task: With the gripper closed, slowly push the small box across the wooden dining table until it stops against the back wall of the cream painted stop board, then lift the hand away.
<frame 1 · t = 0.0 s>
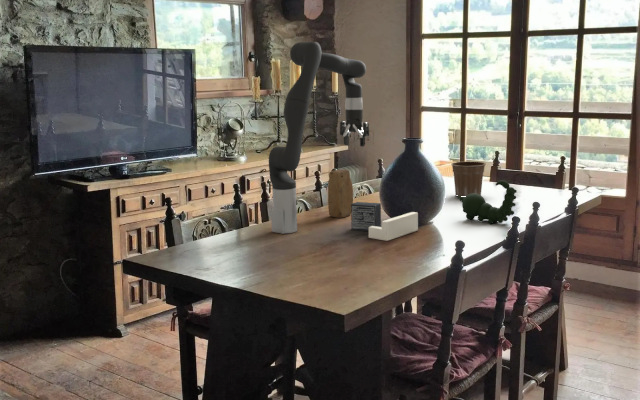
hand: (354, 145, 299), 29 cm above the table, fingers open, 8 cm apart
block: (341, 216, 297), on the table
toy figurine: (484, 222, 280), on the table
small box: (366, 229, 271), on the table
plant pot: (467, 196, 336), on the table
stop board: (400, 234, 261), on the table
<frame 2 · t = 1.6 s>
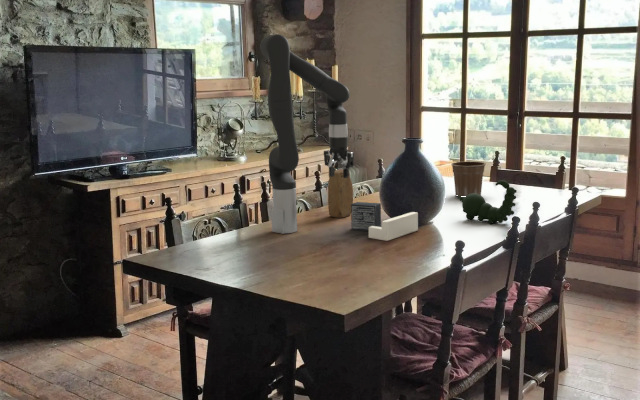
hand: (338, 177, 276), 20 cm above the table, fingers open, 6 cm apart
nothing on the table moved.
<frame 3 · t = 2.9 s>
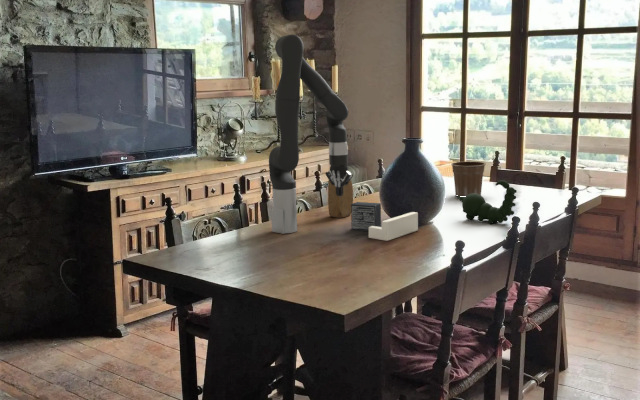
hand: (339, 195, 278), 12 cm above the table, fingers closed
nothing on the table moved.
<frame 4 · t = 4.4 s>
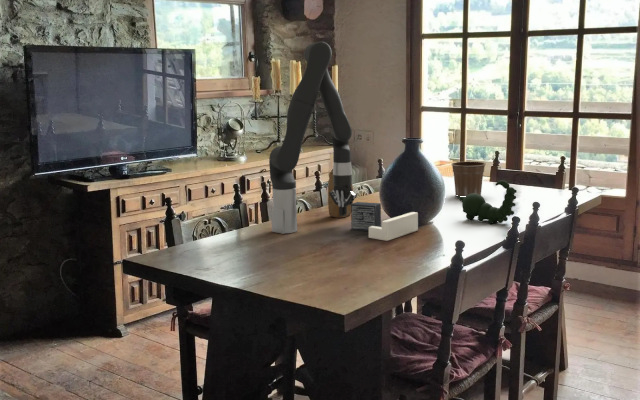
hand: (343, 215, 278), 4 cm above the table, fingers closed
nothing on the table moved.
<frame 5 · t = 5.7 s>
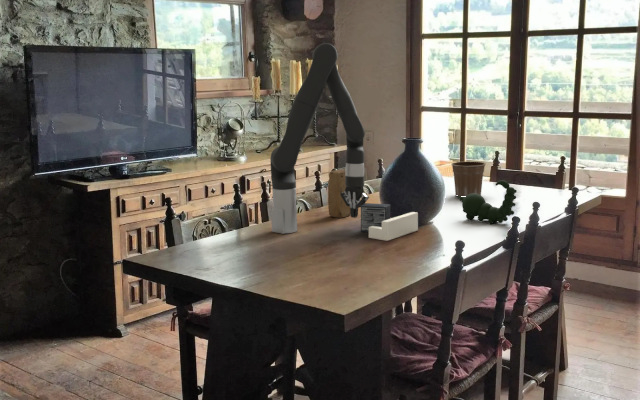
hand: (354, 217, 274), 4 cm above the table, fingers closed
small box: (375, 231, 268), on the table, touching hand
everything else where it was.
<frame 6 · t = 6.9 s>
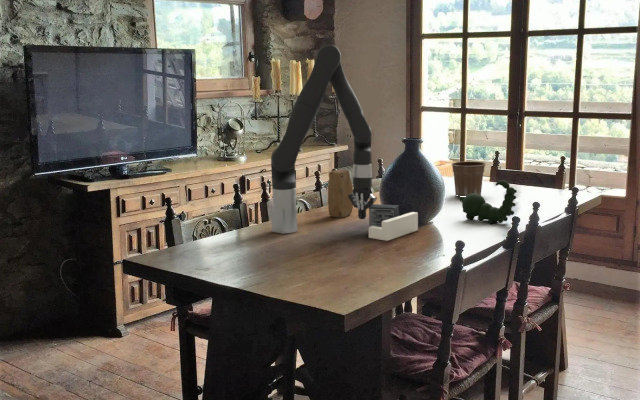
hand: (362, 218, 272), 4 cm above the table, fingers closed
small box: (384, 232, 266), on the table, touching hand
everything else where it was.
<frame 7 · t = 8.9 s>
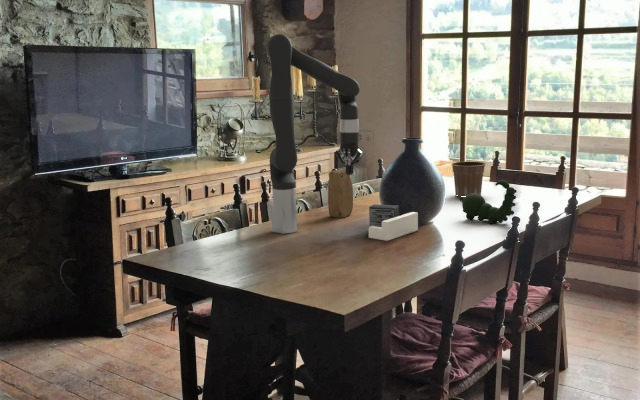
hand: (349, 174, 272), 21 cm above the table, fingers closed
small box: (384, 232, 266), on the table
everything else where it was.
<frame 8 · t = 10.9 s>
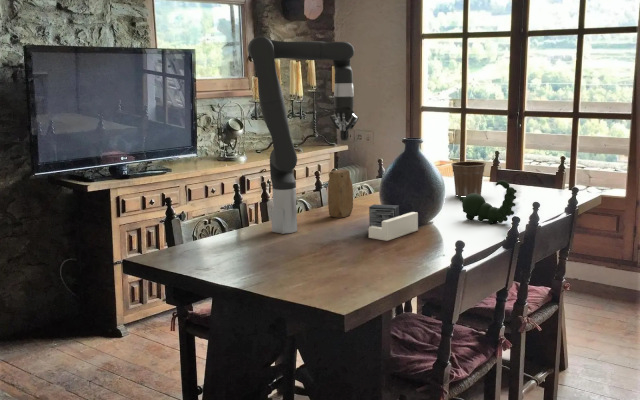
hand: (344, 140, 268), 35 cm above the table, fingers closed
nothing on the table moved.
at the end: small box inside the target area on the stop board (0.0 cm from its centre), point 0.0 cm above the stop board's base; small box tilted 0°; small box moved 8.7 cm from its start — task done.
